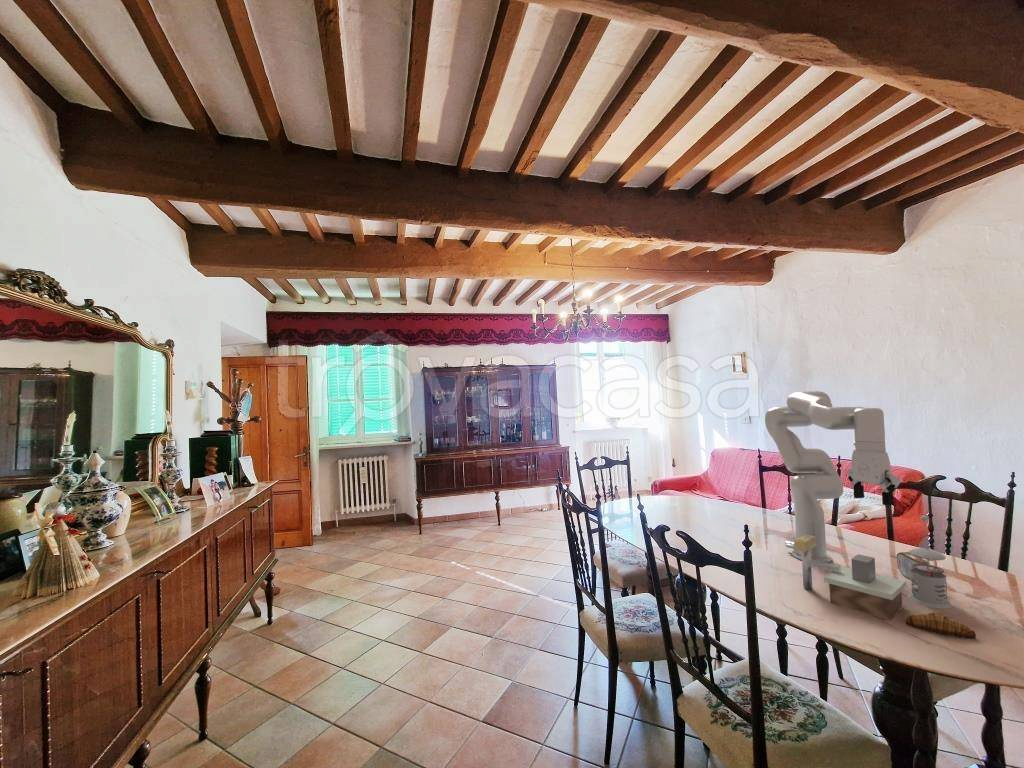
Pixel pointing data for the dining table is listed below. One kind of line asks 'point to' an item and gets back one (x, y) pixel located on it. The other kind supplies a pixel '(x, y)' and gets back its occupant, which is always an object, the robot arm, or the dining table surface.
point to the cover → (866, 579)
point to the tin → (908, 564)
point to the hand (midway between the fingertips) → (873, 501)
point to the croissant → (940, 625)
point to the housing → (865, 602)
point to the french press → (928, 578)
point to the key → (805, 545)
